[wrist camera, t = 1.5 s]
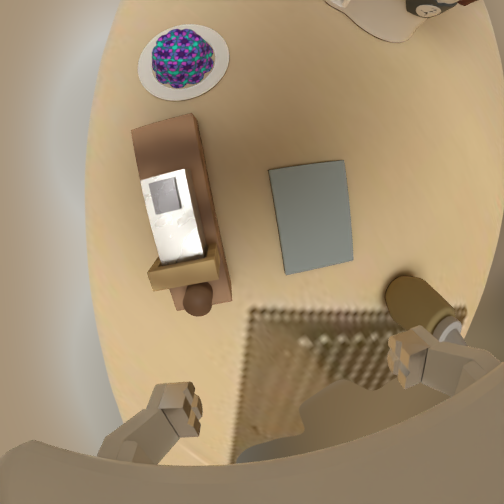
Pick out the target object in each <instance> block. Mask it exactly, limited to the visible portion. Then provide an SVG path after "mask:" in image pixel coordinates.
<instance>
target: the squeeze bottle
mask: <svg viewBox="0 0 504 504" xmlns="http://www.w3.org/2000/svg"><path fill="white" fill-rule="evenodd" d="M385 298H386V304H387V306H388V309H389V312H390V315H391V317H392V318H393V320H394V321H395V322H396V323H397V324H399V325H400V326H401V327H403V328H404V329H405V330H406V331H407V330H409V329H411V328H413V327H416V326H418V325H421V326H423V327H424V328H425V329H426V330H427V331H428V332H429V333H430V334H432V335H433V336H434V337H435V338H436V339H437V340H438V341H439V342H442V341H444V342H449V343H454V344H458V345H463V346H468V345H467V344H466V342H465V341H464V339H463V338H462V336H461V334H460V332H461V327H462V326H461V322H459V321H458V320H457V319H456V318H455V311H454V308H453V307H452V306H451V305H450V304H449V303H448V302H447V301H446V300H445V299H444V298H443V297H442V296H441V295H440V294H439V293H438V292H436V291H435V290H434V289H433V288H432V287H431V286H430V285H429V284H428V283H427V282H426V281H424V280H423V279H421V278H417V277H409V276H400V277H398V278H396V279H395V280H394V281H393V282H392V283H391V284H390V285H389V287H388V289H387V291H386V295H385Z"/></svg>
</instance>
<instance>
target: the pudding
mask: <svg viewBox="0 0 504 504" xmlns="http://www.w3.org/2000/svg"><path fill="white" fill-rule="evenodd" d="M205 40H206V41H207V42H208V43H209V44H210V45H211V46H212V48H213V49H212V48H211V47H210V45H209V44H208V43H207V42H206V41H205ZM213 50H214V52H215V64H214V67H213V60H212V59H211V56H212V55H213ZM228 63H229V49H228V46H227V44H226V42H225V40H224V39H223V37H222V36H221V35H220V34H218V33H217V32H216V31H214V30H213V29H211V28H208V27H206V26H202V25H197V24H184V25H179V26H174V27H172V28H169V29H167V30H165V31H163V32H161V33H159V34H158V35H157V36H155V37H154V38H153V39H152V40H151V41H150V42H149V43H148V44H147V45H146V47H145V48H144V50H143V51H142V53H141V56H140V58H139V62H138V75H139V79H140V81H141V83H142V85H143V86H144V88H145V89H146V90H147V91H148V92H150V93H151V94H152V95H154V96H156V97H158V98H161V99H165V100H172V101H180V100H187V99H191V98H194V97H197V96H200V95H202V94H203V93H205V92H207V91H208V90H210V89H211V88H213V87H214V86H215V85H216V84H217V83H218V82H219V81H220V80H221V78H222V77H223V76H224V74H225V72H226V70H227V67H228ZM152 67H153V70H154V71H156V78H157V80H158V81H159V82H161V83H162V84H165V83H169V84H170V85H171V86H172V87H174V88H182V87H184V86H185V85H186V84H196V83H198V82H200V81H201V80H202V79H203V77H204V73H206V72H208V71H210V70H211V69H212V67H213V69H212V71H211V72H210V74H209V75H208V76H207V77H206V78H205V79H204V80H203V81H201V82H200V83H198V84H196V85H194V86H192V87H189V88H184V89H172V88H168V87H165V86H163V85H162V84H160V83H159V82H158V81H157V80H156V79H155V77H154V75H153V73H152Z"/></svg>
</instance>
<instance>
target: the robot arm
mask: <svg viewBox="0 0 504 504" xmlns="http://www.w3.org/2000/svg"><path fill="white" fill-rule="evenodd" d="M325 1H326V2H327V3H328V4H329V5H331V6H332V7H334V8H336V9H338V10H340V11H342V12H344V13H345V14H346V15H347V16H348V17H350V18H351V19H352V20H353V21H354V22H355V23H356V24H357V25H358V26H360V27H361V28H362V29H364V30H365V31H367V32H368V33H370V34H372V35H374V36H376V37H378V38H380V39H383V40H386V41H389V42H404V41H406V40H408V39H409V38H410V37H411V36H412V34H413V33H414V31H415V30H416V29H417V28H418V27H419V26H420V25H421V24H422V23H423V22H424V21H425V20H427V19H428V18H430V17H433V16H436V15H439V14H441V13H443V12H445V11H447V10H448V9H450V8H452V7H454V6H455V5H456V4H457V1H459V0H325ZM388 346H389V347H390V348H391V349H390V351H389V352H388V356H387V361H388V365H389V368H390V370H391V371H392V373H393V374H396V375H398V381H399V383H400V384H401V385H402V387H403V388H404V389H406V388H409V387H411V386H414V385H416V384H418V383H422V384H425V385H427V386H429V387H431V388H433V389H436V390H438V391H440V392H442V393H445V394H447V395H449V396H452V397H450V398H448V399H447V400H445V401H443V402H441V403H439V404H438V405H436V406H434V407H432V408H430V409H428V410H426V411H424V412H422V413H420V414H418V415H416V416H414V417H412V418H409V419H407V420H405V421H403V422H400V423H398V424H396V425H393V426H391V427H389V428H386V429H383V430H381V431H378V432H376V433H373V434H370V435H367V436H364V437H361V438H358V439H355V440H352V441H349V442H346V443H343V444H339V445H336V446H332V447H329V448H325V449H321V450H317V451H313V452H309V453H304V454H300V455H295V456H289V457H284V458H278V459H272V460H265V461H258V462H250V463H241V464H228V465H209V466H173V465H157V464H158V463H159V462H160V461H161V459H162V458H163V457H164V456H165V455H166V454H167V453H168V452H169V450H170V449H171V448H172V447H173V446H174V445H175V443H176V442H177V441H178V440H179V439H180V438H181V437H198V436H199V433H200V427H201V424H200V422H199V419H200V418H201V417H202V412H203V411H202V403H201V400H200V398H199V396H198V395H196V394H195V393H194V392H195V387H194V385H193V383H192V382H178V383H163V384H157V385H155V387H154V390H153V392H152V395H151V397H150V400H149V403H148V405H147V408H146V409H143V410H141V411H140V412H139V413H137V414H136V415H135V416H133V417H132V418H131V419H130V420H128V421H127V422H126V423H124V424H123V425H121V426H120V427H119V428H117V429H116V430H115V431H114V432H112V433H111V434H109V435H108V436H106V437H105V439H104V441H103V444H102V445H101V448H100V450H99V452H98V454H97V457H95V456H90V455H86V454H81V453H77V452H73V451H69V450H66V449H62V448H58V447H55V446H52V445H48V444H46V443H43V442H40V441H36V440H31V441H28V442H25V443H23V444H21V445H19V446H17V447H15V448H13V449H11V450H9V451H8V452H6V453H5V454H4V455H3V456H2V457H1V458H0V504H504V362H502V363H501V362H500V361H499V360H498V359H497V358H495V357H494V356H493V355H492V354H491V353H489V352H488V351H487V350H483V349H478V348H473V347H468V346H463V345H458V344H454V343H449V342H444V341H442V342H439V341H438V340H437V339H436V338H435V337H434V336H433V335H432V334H430V333H429V332H428V331H427V330H426V329H425V328H424V327H423V326H421V325H418V326H416V327H413V328H411V329H409V330H407V331H404V332H402V333H399V334H396V335H394V336H391V337H389V340H388Z"/></svg>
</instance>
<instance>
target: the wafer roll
mask: <svg viewBox="0 0 504 504" xmlns="http://www.w3.org/2000/svg"><path fill="white" fill-rule="evenodd" d="M475 1H477V0H459V1H457V2H458V3H459V4H461V5H464V6H466V5H468V4H470V3H472V2H475Z"/></svg>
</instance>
